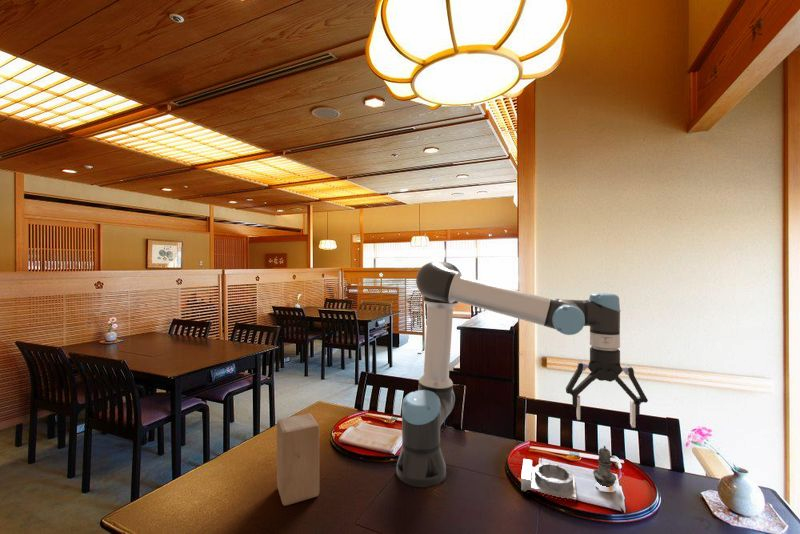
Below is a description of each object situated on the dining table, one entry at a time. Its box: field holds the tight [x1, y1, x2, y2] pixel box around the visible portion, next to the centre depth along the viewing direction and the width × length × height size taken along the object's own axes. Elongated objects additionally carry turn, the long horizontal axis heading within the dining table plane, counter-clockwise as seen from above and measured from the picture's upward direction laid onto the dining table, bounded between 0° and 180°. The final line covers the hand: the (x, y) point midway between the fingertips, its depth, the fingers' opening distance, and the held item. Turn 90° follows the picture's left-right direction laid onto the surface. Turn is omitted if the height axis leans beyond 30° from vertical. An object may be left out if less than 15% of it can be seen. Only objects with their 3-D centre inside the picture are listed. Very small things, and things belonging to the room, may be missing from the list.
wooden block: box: [276, 413, 320, 506], centre depth 101 cm, size 10×10×20 cm
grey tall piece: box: [592, 445, 617, 487], centre depth 103 cm, size 6×6×12 cm
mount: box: [520, 458, 577, 499], centre depth 104 cm, size 14×11×4 cm
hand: (604, 421), depth 103 cm, fingers open, 13 cm apart
